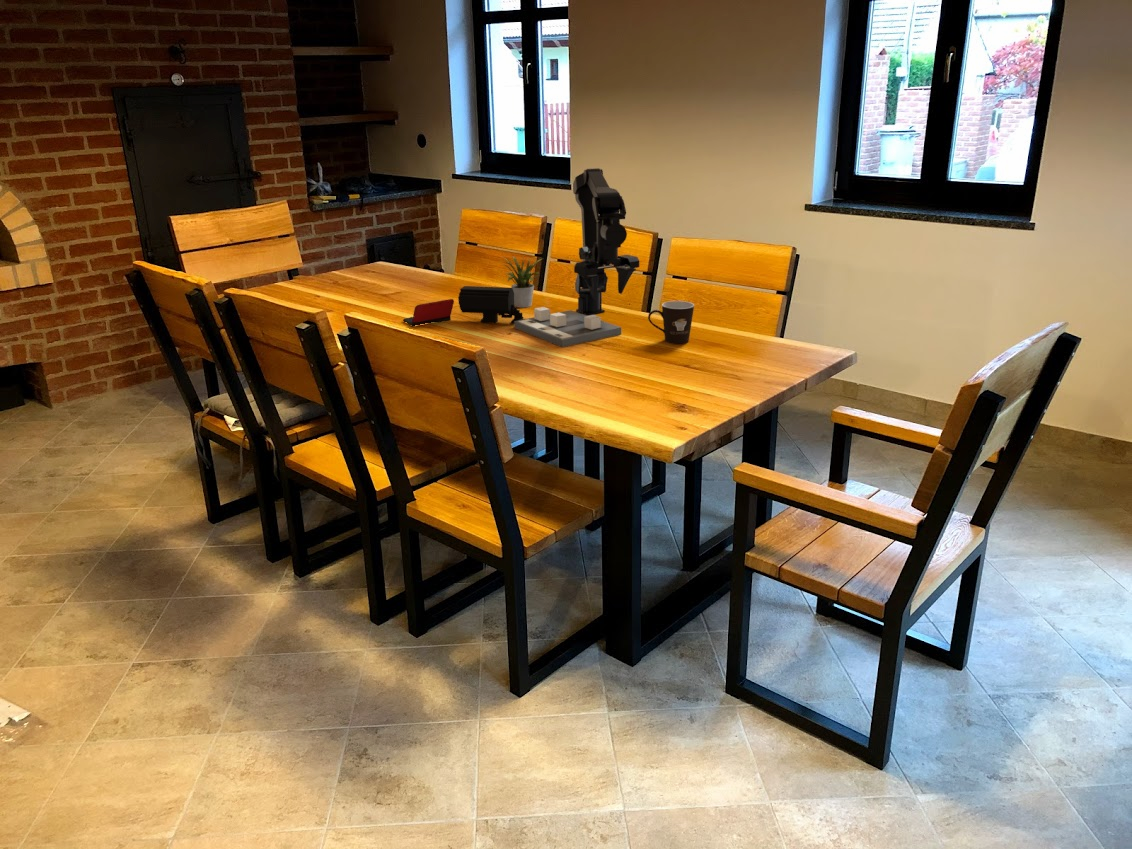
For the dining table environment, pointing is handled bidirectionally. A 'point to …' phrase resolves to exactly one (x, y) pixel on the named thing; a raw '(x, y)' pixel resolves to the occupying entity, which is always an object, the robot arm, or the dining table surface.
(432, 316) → the handheld game console
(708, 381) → the dining table surface
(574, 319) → the switch bank
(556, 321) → the tab
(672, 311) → the coffee mug
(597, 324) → the tab
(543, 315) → the tab
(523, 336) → the dining table surface
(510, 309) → the security camera
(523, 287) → the house plant
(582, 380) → the dining table surface
